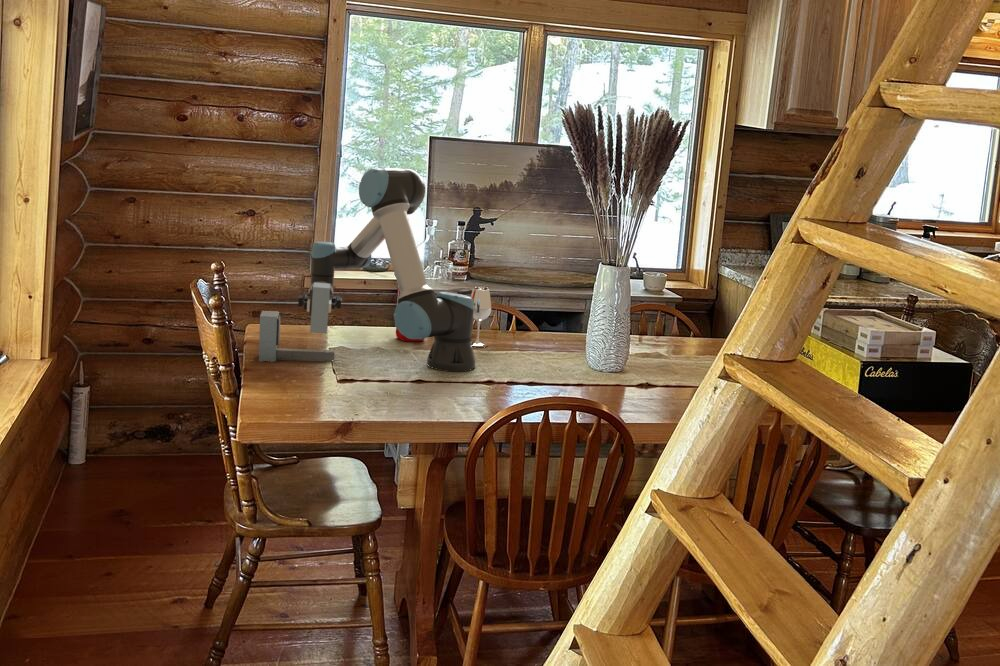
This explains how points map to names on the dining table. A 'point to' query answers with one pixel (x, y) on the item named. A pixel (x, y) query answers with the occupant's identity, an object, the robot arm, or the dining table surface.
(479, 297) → the wineglass
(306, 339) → the dining table surface
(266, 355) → the grey l-shaped block
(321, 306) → the tall grey-blue pillar
